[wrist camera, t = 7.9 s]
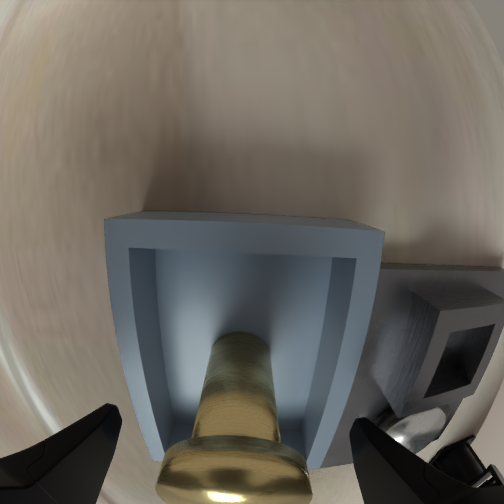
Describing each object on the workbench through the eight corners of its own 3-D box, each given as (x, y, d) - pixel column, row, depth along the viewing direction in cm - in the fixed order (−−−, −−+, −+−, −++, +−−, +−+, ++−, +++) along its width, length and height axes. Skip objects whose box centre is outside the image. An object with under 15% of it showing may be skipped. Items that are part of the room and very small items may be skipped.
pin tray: (350, 220, 12) (384, 231, 9) (310, 429, 15) (319, 468, 12) (141, 211, 12) (104, 219, 9) (165, 422, 15) (152, 460, 12)
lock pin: (288, 319, 13) (329, 467, 5) (279, 389, 13) (297, 521, 5) (195, 315, 12) (139, 457, 4) (199, 385, 13) (170, 515, 5)
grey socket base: (499, 266, 13) (533, 281, 9) (432, 431, 16) (448, 455, 13) (364, 262, 13) (398, 285, 9) (313, 457, 16) (320, 491, 13)
